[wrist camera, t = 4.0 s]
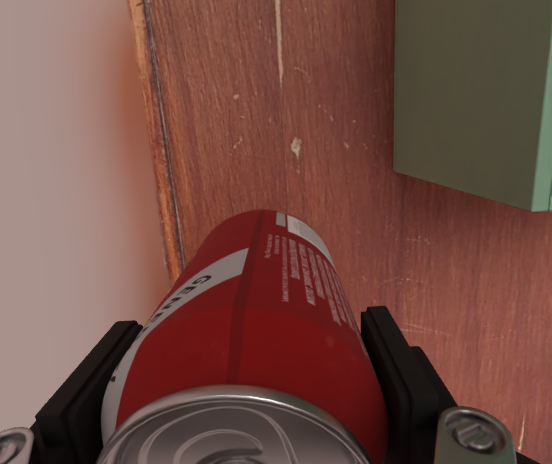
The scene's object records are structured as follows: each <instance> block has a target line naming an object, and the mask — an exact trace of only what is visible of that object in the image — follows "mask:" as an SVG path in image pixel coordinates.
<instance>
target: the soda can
mask: <svg viewBox="0 0 552 464" xmlns="http://www.w3.org/2000/svg"><path fill="white" fill-rule="evenodd" d="M101 435H102V441H103V447H104V448H103V449H102V451H101V453H100V455H99V457H98V459H97V461H96V463H95V464H383V463H384V460H385V457H386V452H387V448H388V440H389V417H388V410H387V405H386V402H385V398H384V394H383V392H382V389H381V386H380V384H379V381H378V379H377V376H376V373H375V371H374V368H373V366H372V363H371V360H370V358H369V355H368V353H367V350H366V347H365V345H364V342H363V340H362V337H361V334H360V332H359V329H358V326H357V324H356V321H355V319H354V316H353V313H352V311H351V308H350V306H349V303H348V300H347V298H346V295H345V293H344V290H343V287H342V285H341V282H340V280H339V277H338V274H337V272H336V269H335V267H334V264H333V261H332V259H331V256H330V254H329V251H328V249H327V247H326V245H325V243H324V241H323V240H322V238H321V237H320V236H319V234H318V233H317V232H316V231H315V230H314V229H313V228H312V227H311V226H310V225H308V224H307V223H306V222H304V221H303V220H301V219H299V218H298V217H296V216H294V215H291V214H289V213H286V212H282V211H278V210H271V209H255V210H249V211H244V212H241V213H238V214H236V215H233V216H231V217H229V218H227V219H226V220H224V221H223V222H221V223H220V224H219V225H217V226H216V227H215V228H214V229H213V230H212V231H211V232H210V234H209V235H208V236H207V237H206V239H205V240H204V242H203V243H202V245H201V246H200V247H199V249H198V250H197V252H196V253H195V255H194V256H193V257H192V259H191V260H190V262H189V263H188V265H187V266H186V268H185V269H184V270H183V272H182V273H181V275H180V276H179V278H178V279H177V280H176V282H175V283H174V285H173V286H172V288H171V289H170V290H169V292H168V294H167V295H166V296H165V298H164V299H163V301H162V302H161V304H160V305H159V306H158V308H157V309H156V311H155V312H154V313H153V315H152V316H151V318H150V319H149V321H148V322H147V323H146V325H145V326H144V328H143V329H142V331H141V332H140V334H139V335H138V336H137V338H136V339H135V341H134V342H133V344H132V345H131V346H130V348H129V349H128V351H127V352H126V354H125V355H124V356H123V358H122V359H121V361H120V363H119V364H118V366H117V367H116V369H115V371H114V373H113V375H112V377H111V379H110V381H109V383H108V386H107V389H106V392H105V395H104V399H103V405H102V411H101Z"/></svg>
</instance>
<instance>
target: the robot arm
mask: <svg viewBox="0 0 552 464" xmlns="http://www.w3.org/2000/svg"><path fill="white" fill-rule="evenodd" d="M142 329H143V326H142V325H138V323H137V321H134V320H133V321H118V322H116V323H115V324H114V325H113V326H112V327H111V329H110V330H109V331H108V332H107V333H106V334H105V335H104V337H103V338H102V339H101V340H100V341H99V343H98V344H97V345H96V346H95V347H94V348H93V349H92V351H91V352H90V353H89V354H88V355H87V356H86V358H85V359H84V360H83V361H82V362H81V363H80V364H79V366H78V367H77V368H76V369H75V371H73V373H72V374H71V375H70V376H69V377H68V378H67V380H66V381H65V382H64V383H63V384H62V385H61V387H60V388H59V389H58V390H57V391H56V392H55V394H54V395H53V396H52V397H51V398H50V399H49V400H48V402H47V403H46V404H45V405H44V406H43V407H42V409H41V410H40V411H39V412H38V413H37V414H36V416H35V418H36V421H35V423H34V424H33V425H32V426H31V427H30V429H28V428H25V427H15V428H11V429H7V430H3V431H1V432H0V464H95V463H96V461H97V459H98V457H99V455H100V453H101V451H102V449H103V448H104V447H103V441H102V435H101V411H102V405H103V399H104V395H105V392H106V389H107V386H108V383H109V381H110V379H111V377H112V375H113V373H114V371H115V369H116V367H117V366H118V364H119V363H120V361H121V359H122V358H123V356H124V355H125V354H126V352H127V351H128V349H129V348H130V346H131V345H132V344H133V342H134V341H135V339H136V338H137V336H138V335H139V334H140V332H141V331H142ZM361 337H362V340H363V342H364V345H365V347H366V350H367V353H368V355H369V358H370V360H371V363H372V366H373V368H374V371H375V373H376V376H377V379H378V381H379V384H380V386H381V389H382V392H383V394H384V398H385V402H386V405H387V410H388V417H389V440H388V448H387V452H386V457H385V460H384V464H540V463H538V462H536V461H534V460H532V459H530V458H528V457H526V456H524V455H522V454H520V453H518V452H516V451H515V445H514V441H513V438H512V435H511V433H510V432H509V430H508V429H507V428H506V427H505V425H504V424H502V423H501V422H500V421H499V420H498V419H496V418H495V417H493V416H491V415H490V414H488V413H486V412H484V411H481V410H478V409H476V408H471V407H465V406H458V405H457V404H456V402H455V400H454V399H453V397H452V396H451V394H450V393H449V391H448V389H447V388H446V386H445V385H444V383H443V382H442V380H441V378H440V377H439V375H438V374H437V372H436V371H435V369H434V367H433V366H432V364H431V363H430V361H429V360H428V358H427V356H426V355H425V353H424V352H423V350H422V349H421V348H420V347H418V346H412V347H409V345H408V343H407V341H406V340H405V338H404V336H403V335H402V333H401V331H400V329H399V328H398V326H397V324H396V323H395V321H394V319H393V318H392V316H391V314H390V312H389V311H388V309H387V307H386V306H375V307H367V311H366V312H361Z"/></svg>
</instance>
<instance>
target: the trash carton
mask: <svg viewBox="0 0 552 464" xmlns="http://www.w3.org/2000/svg"><path fill="white" fill-rule="evenodd" d="M393 171H395V172H398V173H401V174H405V175H408V176H412V177H415V178H418V179H422V180H425V181H428V182H432V183H435V184H439V185H442V186H445V187H449V188H452V189H456V190H459V191H462V192H466V193H469V194H472V195H476V196H479V197H483V198H486V199H489V200H493V201H496V202H499V203H503V204H506V205H510V206H513V207H516V208H520V209H523V210H527V211H530V212H541V211H547V210H548V211H552V0H395V59H394V144H393Z"/></svg>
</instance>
